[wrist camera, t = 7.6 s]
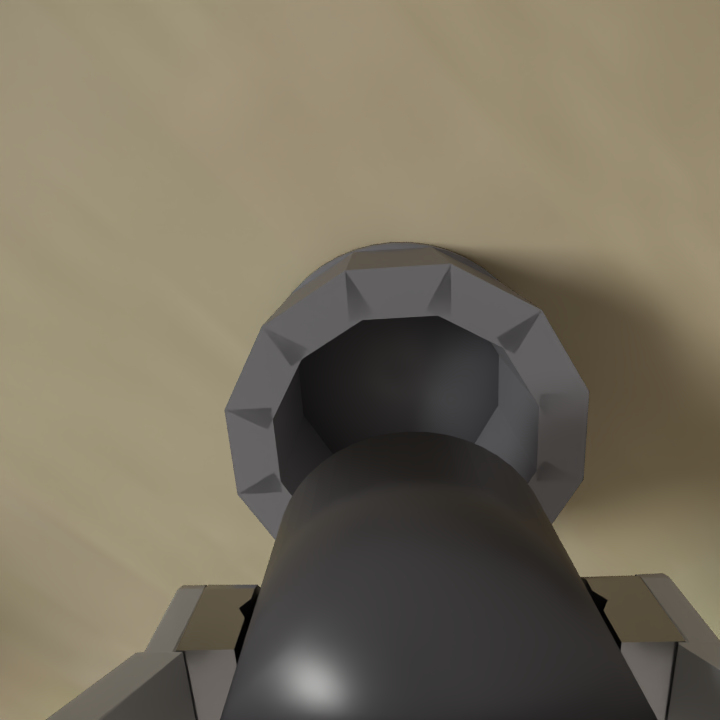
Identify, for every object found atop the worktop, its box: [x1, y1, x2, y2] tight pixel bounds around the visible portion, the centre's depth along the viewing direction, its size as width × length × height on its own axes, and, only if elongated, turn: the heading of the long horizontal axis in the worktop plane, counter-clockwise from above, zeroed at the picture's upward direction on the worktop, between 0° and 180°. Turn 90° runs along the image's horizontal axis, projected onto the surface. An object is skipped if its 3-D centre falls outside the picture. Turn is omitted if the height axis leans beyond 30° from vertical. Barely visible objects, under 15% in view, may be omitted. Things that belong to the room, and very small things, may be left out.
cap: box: [220, 432, 658, 720], centre depth 9 cm, size 6×6×5 cm
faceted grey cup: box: [225, 242, 589, 540], centre depth 18 cm, size 11×11×6 cm
